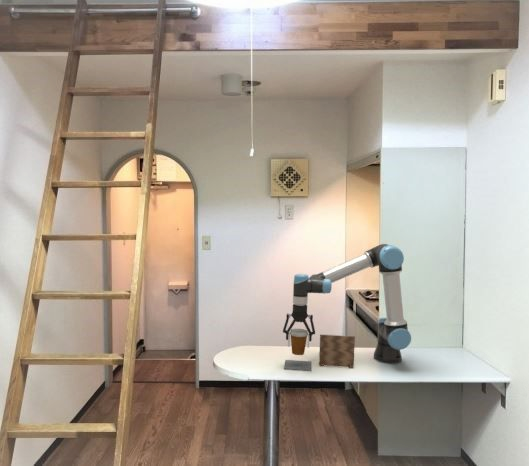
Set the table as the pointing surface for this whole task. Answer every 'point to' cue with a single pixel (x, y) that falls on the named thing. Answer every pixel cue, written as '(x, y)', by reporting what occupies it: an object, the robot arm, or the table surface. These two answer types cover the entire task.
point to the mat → (297, 365)
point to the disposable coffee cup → (298, 341)
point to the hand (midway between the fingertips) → (298, 346)
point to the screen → (337, 350)
